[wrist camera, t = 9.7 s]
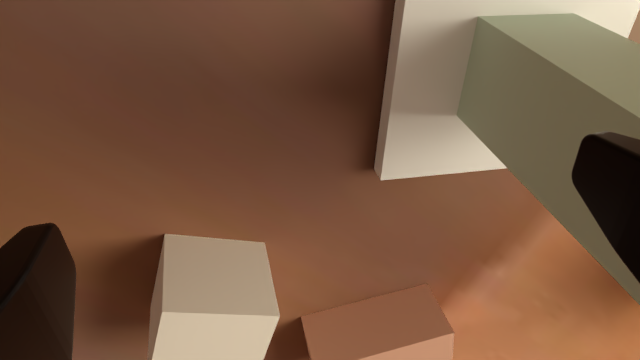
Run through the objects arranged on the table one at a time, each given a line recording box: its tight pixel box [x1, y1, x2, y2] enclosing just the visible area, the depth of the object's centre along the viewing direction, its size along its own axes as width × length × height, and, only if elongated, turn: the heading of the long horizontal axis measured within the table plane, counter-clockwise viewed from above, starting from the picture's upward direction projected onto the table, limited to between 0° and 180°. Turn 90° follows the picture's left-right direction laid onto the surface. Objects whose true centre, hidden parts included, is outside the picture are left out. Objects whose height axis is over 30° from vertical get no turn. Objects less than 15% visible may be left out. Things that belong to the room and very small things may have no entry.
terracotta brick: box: [301, 283, 454, 360], centre depth 30 cm, size 8×4×4 cm, turn 97°
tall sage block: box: [456, 13, 640, 305], centre depth 17 cm, size 4×4×12 cm
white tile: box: [374, 0, 640, 180], centre depth 23 cm, size 11×11×1 cm
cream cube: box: [147, 234, 280, 360], centre depth 24 cm, size 5×5×5 cm
